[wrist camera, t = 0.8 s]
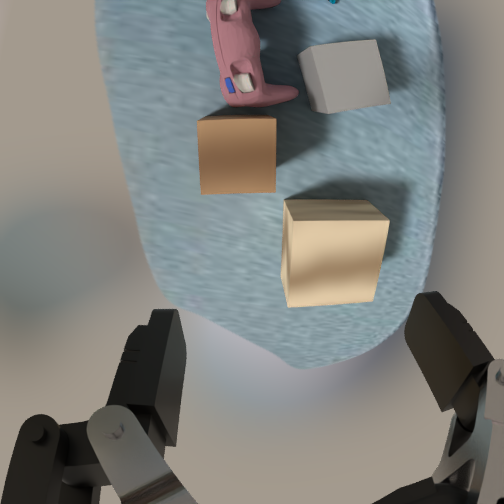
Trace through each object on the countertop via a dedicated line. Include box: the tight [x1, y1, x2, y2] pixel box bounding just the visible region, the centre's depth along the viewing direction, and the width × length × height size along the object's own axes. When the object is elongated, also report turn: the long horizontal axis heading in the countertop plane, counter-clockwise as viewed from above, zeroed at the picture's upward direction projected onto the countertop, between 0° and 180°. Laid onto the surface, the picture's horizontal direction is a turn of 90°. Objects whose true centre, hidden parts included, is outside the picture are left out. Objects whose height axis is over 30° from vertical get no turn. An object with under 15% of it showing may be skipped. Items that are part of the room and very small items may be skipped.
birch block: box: [281, 199, 390, 307], centre depth 27 cm, size 8×8×5 cm
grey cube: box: [297, 39, 391, 114], centre depth 20 cm, size 5×5×5 cm
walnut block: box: [197, 115, 276, 195], centre depth 22 cm, size 5×5×6 cm
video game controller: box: [206, 0, 299, 107], centre depth 18 cm, size 10×5×7 cm, turn 10°
